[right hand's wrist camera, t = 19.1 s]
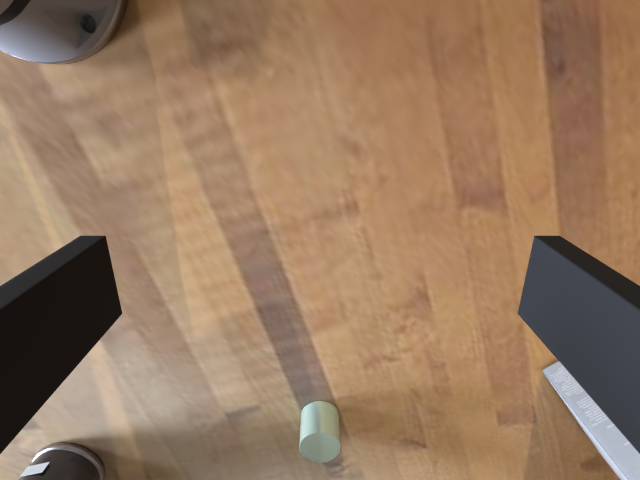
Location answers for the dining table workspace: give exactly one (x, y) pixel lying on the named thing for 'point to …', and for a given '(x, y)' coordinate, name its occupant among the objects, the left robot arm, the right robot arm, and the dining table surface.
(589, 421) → the hard drive box
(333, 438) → the mint green cylinder
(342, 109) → the dining table surface
